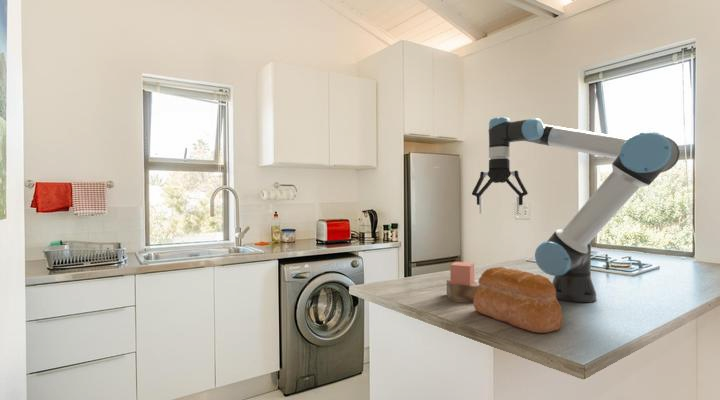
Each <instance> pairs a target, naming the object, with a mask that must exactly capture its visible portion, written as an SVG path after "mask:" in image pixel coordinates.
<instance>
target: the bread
mask: <svg viewBox="0 0 720 400" xmlns="http://www.w3.org/2000/svg"><path fill="white" fill-rule="evenodd" d="M473 307H474V310H475V311H476V312H478V313H479V314H481V315H484V316H488V317H489V318H490V317H491V318H493V319H495V320H497V321H500V322H504V323H508V324H510V325H512V326H513V327H516V328H520V329H522V330H524V331H528V332H531V333H532V332H533V333H536V334H545V333H551V332H554V331H558V330H559V329H561V327H562V325H563V323H564V322H563V321H564V320H563V313H562V307H561V304H560V303H559V301H558V299H557V298H556V289H555V287H554V285H553V284H552V281H551V280H550V279H549V278H548V277H546V276H543V275H542V274H541V275H540V274H533V273H531V272H528V271H523V270H519V269H512V268H506V267H503V266H500V267H499V266H498V267H490V268H487V269H486V270H484V272H483V273H481V275H480V277H479V278H478V288H477V290H476V292H475V296H474V302H473Z"/></svg>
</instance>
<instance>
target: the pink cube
mask: <svg viewBox="0 0 720 400" xmlns="http://www.w3.org/2000/svg"><path fill="white" fill-rule="evenodd" d="M449 270H450V273H449V274H450V280H451V284H456V285H465V286H470V285H472V284H473V283H474V281H475V263H474V262H464V261H463V262H461V261H455V262H453V263H451V264H450V268H449Z"/></svg>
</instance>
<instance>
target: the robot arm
mask: <svg viewBox="0 0 720 400" xmlns="http://www.w3.org/2000/svg"><path fill="white" fill-rule="evenodd" d="M487 131H488V158H489V159H488V171H480V175H479V178H478V180H477V182H476V184H475V186H474V188H473V190H472V192H471V195H472V196H474V197H476V205H477V206H479V214H480V215H481V214H484V211H483V210H484V203H483V202H484V201H483V199H484V197H483V196H482V195H483V194H484V193H485V192H486V190H488V188H489V187H490V186H491V185H492V183H494V184H497V183H501V184H504V183H506V184H507V185H509V187H510V188H511V189H512V191H514V192H515V193H516V194H517V196H516V215H520V209H521V208H520V206H523V204H524V203H523V202H524V199H523V197H524V196H527V195H528V194H529V192H528V190H527V188H526V187H525V184H524V183H523V181H522V179H521V178H520V174H519V171H518V170H514V171H511V166H510V163H511V162H510V161H511V160H510V144H511V143H514V142H526V143H527V142H529V143H534V144H538V145H543V146H549V147H555V148H559V149H565V150H569V151H573V152H577V153H584V154H589V155H592V156H597V157H603V158H608V159H613V160H614V161H613V162H612V163H611V166H612V172H610V173H609V175H608V176H607V178H605V179H604V181H603V182H602V183H601V184H600V186H599V187H598V188H597V189H596V190H595V191H594V192H593V194H592V195H591V196H590V197H589V198H588V200H587V201H586V202H585V203H584V204H583V205H582V207H581V208H580V209H579V210H578V211H577V213H576V214H575V215H574V216H573V218H571V220H570V221H568V223H567V224H566V226H565V227H564V228H559V229H556V230H555V231H554V232H553V234H551V236H550V237H549V239H547V241H543V242H542V243H540V244H539V245H538V246H537V248H536V250H535V251H534V259H535V263H536V265H537V266H538V269H540V271H542V272H543V273H545V274H547V275H549V276H553V279H552V281H551V283H552V284H553V285H554V287H555V289H556V299H557V300H560V301H567V302H575V303H591V302H592V303H593V302H596V301H597V292H596V289H595V286H594V284H593V280H592V274H591V271H592V270H591V269H592V266H591V265H592V261H591V260H592V259H591V258H592V257H591V255H592V251H591V249H592V242H591V241H593V239H595V237H596V236H597V235H598V234H599V233H600V232H601V230H602V229H603V228H604V227H605V226H606V225H607V224H608V223H609V222H610V221H611V219H613V217H615V216H616V214H617V213H618V212H619V211H620V210H621V209H622V208H623V206H625V204H626V203H627V202H628V201H629V200H630V199H631V197H633V195H634V194H635V193H636V192H637V191H638V190H639V188H641V187H647V186H650V185H651V184H652V183H653V182H654V181H655V179H656V178H657V177H658V176H659V175H660V174H661V173H665V172H667V171H669V170H671V169H672V168H674V167H675V166H676V165H677V163H678V161H679V160H680V157H681V156H680V155H681V154H680V153H681V152H680V147H679V146H678V144H677V143H676V141H674V140H673V139H671V138H669V137H667V136H665V135H664V134H661V133H660V132H654V131H646V132H640V133H639V132H638V133H636V134H634V135H632V136H630V137H624V136H617V135H611V134H606V133H599V132H592V131H586V130H580V129H574V128H567V127H562V126H556V125H551V124H550V125H549V124H544V123H543V122H542V120H541V119H540V118H528V119H522V120H516V121H510V118H509V117H504V116H503V117H501V116H500V117H493V118H491V119H489V123H488V130H487ZM511 175H512V176H513V178H515V180H516V182H517V183H518V185H519V187H520V189H521V191H522V192H521V191H520V190H519V189H518V187H517V186H515V184H514V183H513V181H511V180H510V177H511ZM486 177H488V178H489V179H488V181H487V182H486V183H485V184H484V186H482V188H481V189H480V187H481V185H482V183H483V181H484V179H485V178H486Z"/></svg>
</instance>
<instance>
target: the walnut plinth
mask: <svg viewBox="0 0 720 400" xmlns="http://www.w3.org/2000/svg"><path fill="white" fill-rule="evenodd" d="M478 286H479V284H477V282H476V281H475V280H474V283H473V284H472V285H470V286H465V285H456V284H451V279H446V297H447V298H448V300H449V302H450V303H474V296H475V292H476V290H477V288H478Z"/></svg>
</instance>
